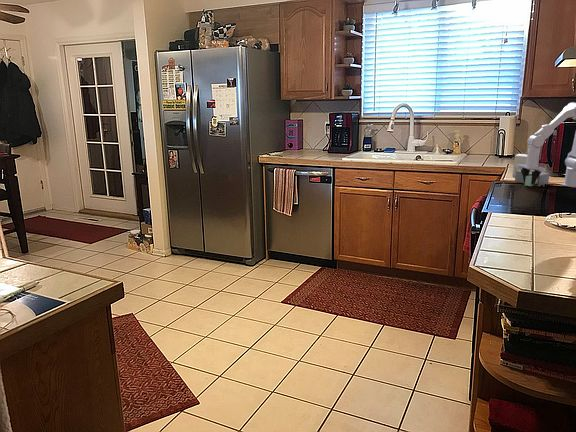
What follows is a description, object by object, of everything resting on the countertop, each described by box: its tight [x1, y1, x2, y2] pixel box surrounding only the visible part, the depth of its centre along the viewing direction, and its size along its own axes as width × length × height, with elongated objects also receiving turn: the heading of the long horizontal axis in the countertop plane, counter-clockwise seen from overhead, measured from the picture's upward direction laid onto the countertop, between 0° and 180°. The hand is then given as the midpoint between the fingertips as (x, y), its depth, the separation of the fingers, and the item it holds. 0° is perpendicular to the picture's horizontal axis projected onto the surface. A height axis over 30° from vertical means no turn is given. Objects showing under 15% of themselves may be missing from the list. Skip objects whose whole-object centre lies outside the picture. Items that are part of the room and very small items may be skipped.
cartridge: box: [524, 175, 539, 187], centre depth 259 cm, size 12×4×5 cm, turn 122°
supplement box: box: [512, 153, 527, 178], centre depth 279 cm, size 7×7×13 cm
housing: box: [514, 170, 550, 187], centre depth 264 cm, size 9×14×6 cm, turn 32°
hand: (529, 183), depth 257 cm, fingers closed on cartridge, 4 cm apart
